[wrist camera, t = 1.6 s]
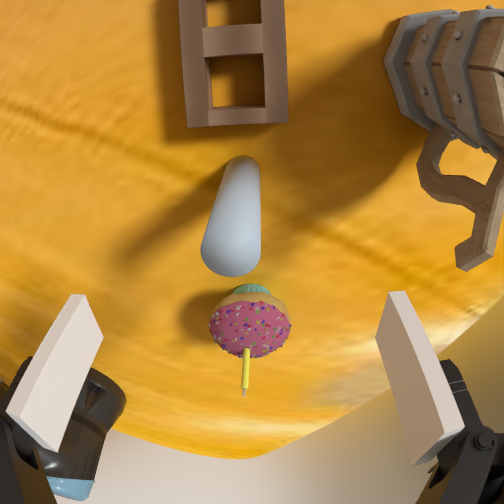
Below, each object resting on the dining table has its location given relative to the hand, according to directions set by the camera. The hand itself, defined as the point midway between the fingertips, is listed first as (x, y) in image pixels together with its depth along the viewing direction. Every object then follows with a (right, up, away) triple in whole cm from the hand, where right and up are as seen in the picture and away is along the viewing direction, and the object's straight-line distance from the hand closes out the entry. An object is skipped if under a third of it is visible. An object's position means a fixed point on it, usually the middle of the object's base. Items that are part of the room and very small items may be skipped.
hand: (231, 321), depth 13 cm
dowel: (0, +10, +16) cm, 19 cm away
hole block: (-1, +20, +9) cm, 23 cm away
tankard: (+18, +17, +11) cm, 27 cm away
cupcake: (+1, -2, +24) cm, 24 cm away
